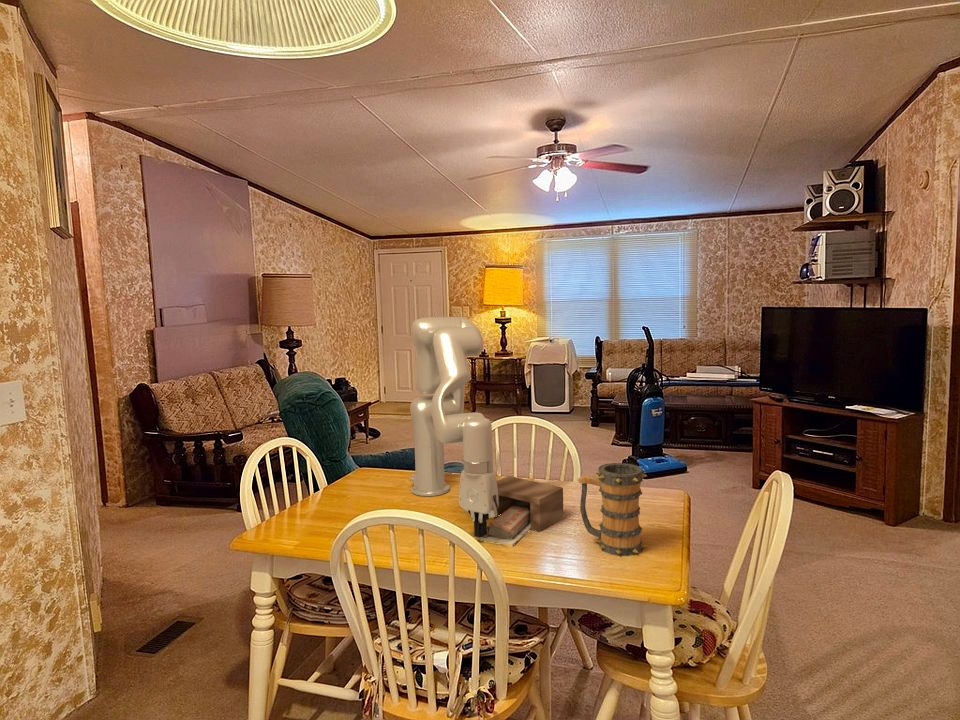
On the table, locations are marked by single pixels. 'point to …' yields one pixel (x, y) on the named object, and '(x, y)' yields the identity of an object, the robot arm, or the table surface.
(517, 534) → the packaged product
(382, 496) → the table surface
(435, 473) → the robot arm
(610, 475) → the mug
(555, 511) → the walnut shelf
